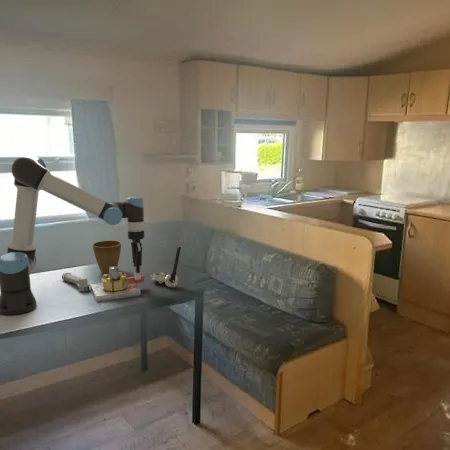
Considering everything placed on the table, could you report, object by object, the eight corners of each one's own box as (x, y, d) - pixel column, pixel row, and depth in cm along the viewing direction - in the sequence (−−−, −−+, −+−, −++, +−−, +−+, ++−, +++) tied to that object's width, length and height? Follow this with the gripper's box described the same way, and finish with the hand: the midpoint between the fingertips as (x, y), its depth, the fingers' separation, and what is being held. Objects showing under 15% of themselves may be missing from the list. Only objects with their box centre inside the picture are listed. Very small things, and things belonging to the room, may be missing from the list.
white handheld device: (70, 271, 237) (90, 276, 218) (71, 284, 238) (92, 289, 219) (60, 273, 234) (80, 278, 215) (61, 286, 234) (81, 292, 215)
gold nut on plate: (96, 301, 204) (94, 275, 202) (90, 289, 220) (88, 265, 218) (140, 295, 212) (139, 270, 210) (131, 284, 228) (130, 260, 226)
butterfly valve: (146, 281, 231) (164, 286, 218) (154, 242, 233) (173, 245, 220) (160, 283, 237) (179, 288, 224) (168, 245, 239) (187, 248, 225)
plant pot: (98, 268, 255) (96, 240, 252) (125, 268, 255) (123, 240, 252) (90, 276, 241) (88, 246, 238) (118, 276, 241) (117, 246, 238)
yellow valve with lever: (105, 292, 208) (105, 280, 207) (99, 285, 218) (98, 274, 217) (147, 285, 217) (147, 274, 216) (139, 279, 227) (139, 268, 226)
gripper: (147, 232, 210) (148, 281, 214) (140, 227, 222) (142, 274, 226) (131, 233, 207) (132, 283, 211) (125, 228, 219) (126, 276, 223)
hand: (137, 279), depth 219 cm, fingers closed
